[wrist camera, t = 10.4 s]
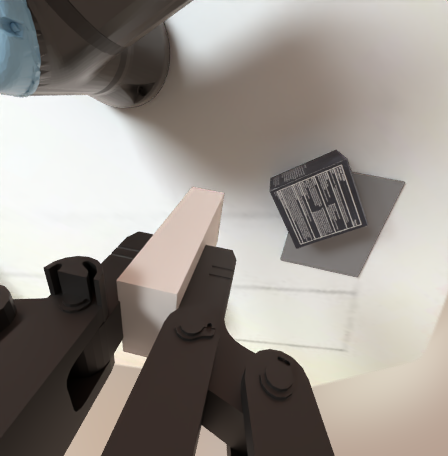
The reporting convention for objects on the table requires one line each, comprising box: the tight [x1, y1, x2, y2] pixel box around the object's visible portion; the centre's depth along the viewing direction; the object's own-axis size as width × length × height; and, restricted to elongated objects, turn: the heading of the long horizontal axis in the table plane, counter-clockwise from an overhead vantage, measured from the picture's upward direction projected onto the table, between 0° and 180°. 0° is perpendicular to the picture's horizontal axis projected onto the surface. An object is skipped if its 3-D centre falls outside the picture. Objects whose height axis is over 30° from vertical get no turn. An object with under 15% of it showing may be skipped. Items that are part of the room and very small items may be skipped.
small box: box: [270, 150, 368, 249], centre depth 38 cm, size 11×6×10 cm
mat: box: [281, 172, 405, 277], centre depth 43 cm, size 14×18×1 cm
